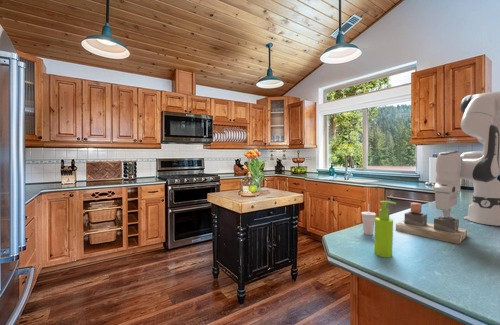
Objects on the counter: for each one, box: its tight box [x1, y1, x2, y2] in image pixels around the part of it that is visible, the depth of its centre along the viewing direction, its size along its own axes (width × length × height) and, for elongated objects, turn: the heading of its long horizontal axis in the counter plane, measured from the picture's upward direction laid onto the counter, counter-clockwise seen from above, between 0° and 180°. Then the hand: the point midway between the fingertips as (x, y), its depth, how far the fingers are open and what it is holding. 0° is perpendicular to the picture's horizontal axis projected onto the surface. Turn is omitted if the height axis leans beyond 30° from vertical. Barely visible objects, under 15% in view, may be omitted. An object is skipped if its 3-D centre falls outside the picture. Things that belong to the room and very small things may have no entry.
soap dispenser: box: [373, 200, 397, 258], centre depth 91 cm, size 6×7×20 cm
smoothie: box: [360, 203, 377, 236], centre depth 115 cm, size 6×6×14 cm
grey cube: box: [439, 215, 454, 221], centre depth 112 cm, size 4×4×4 cm
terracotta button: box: [410, 202, 423, 213], centre depth 121 cm, size 4×4×4 cm
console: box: [395, 210, 468, 245], centre depth 117 cm, size 16×24×8 cm, turn 39°
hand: (446, 217), depth 112 cm, fingers closed, pressing on grey cube
